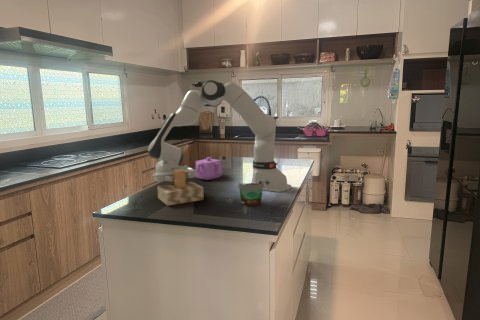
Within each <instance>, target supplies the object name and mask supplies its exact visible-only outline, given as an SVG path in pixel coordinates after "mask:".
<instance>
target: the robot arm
mask: <svg viewBox="0 0 480 320" xmlns="http://www.w3.org/2000/svg"><path fill="white" fill-rule="evenodd" d="M223 101H224V102H226V103H227V104H228V105H229V106H230V107H231V108H232V109H233V110H234V111H235V112H236V113H237V114H238V115H239V116H240V117H241V118H242V119H243V121H244V122H245V124H246V125H247V126H248V128H250V130H251V133H252V134H254V135H255V137H254V143H253V160H252V170H253V171H252V178H251V182H250V183H256V184H257V183H262V181H263V183H264V188H263V189H262V191H267V192H275V193H276V192H277V193H281V192H285V191H288V190H290V189H291V188H292V184H288V179H287V176H286V175H285V174H284V173H283V172H282V171H281V170H280V169H278V167H277V166H278V165H279V164H278V163H279V162H275V160H274V159H275V140H276V131H277V130H276V128H277V127H276V126H277V122H276V120H275V118H274V117H273V116H272V115H270V114H267V113H265V112H264V111H263V110H262V109H261V107H260V106H259V105H258V103H257V101H255V99H253V98H252V97H251V95H250V94H248V92H246V90H245V89H244V88H243V87H241V86H240V85H238V84H237V83H235V82H233V81H228V82H227V83H225V84H224V83H222V82H219V81H217V80H213V79H210V80H205V82H203V84H202V85H201V88H200V90H197V89H190V90H188V92H186V94H185V96H184V98H183V100H182V101H181V104H180V106H179V108H178V109H177V110H176V111H175V112H171V113H170V114H169V115H168V117H167V118H166V119H165V120H164V122H163V124H162V125H161V127H160V128H159V130H158V131H157V133H156V135H155V136H154V138H153V139H152V141H151V142H150V143H149V144H148V147H147V153H148V155H149V157H150V158H152V159H155V160H159V161H157V163H156V165H155V167H154V168H155V169H154V170H155V172H154V173H153V174H151V177H152V178H154V180H155V182H158V183H160V182H161V183H163V182H170V183H171V182H172V183H173V182H175V179H174V170H181V169H182V170H184V171H185V179H192V178H196V173H195V169H194V168H193V167H190V166H188V165H187V164H182V162H183V159H184V152H183V150H182V148H180V147H178V146H176V145H174V144H170V143H167V142H165V140H166V137H167V136H168V134H169V133H170V131H171V130H172V129H173V127H175V126H176V127H177V126H182V127H183V126H185V127H186V126H192V125H194V124H195V123H196V122H197V120H198V119H199V117H200V113H201V112H202V108H203V107H213V108H215V107H216V108H217V107H218V106H219V105H221V104H222V102H223Z"/></svg>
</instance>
